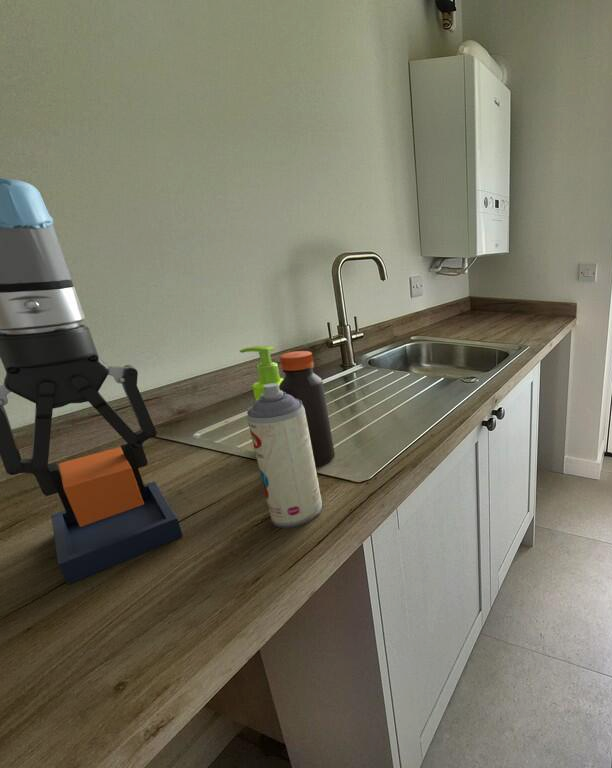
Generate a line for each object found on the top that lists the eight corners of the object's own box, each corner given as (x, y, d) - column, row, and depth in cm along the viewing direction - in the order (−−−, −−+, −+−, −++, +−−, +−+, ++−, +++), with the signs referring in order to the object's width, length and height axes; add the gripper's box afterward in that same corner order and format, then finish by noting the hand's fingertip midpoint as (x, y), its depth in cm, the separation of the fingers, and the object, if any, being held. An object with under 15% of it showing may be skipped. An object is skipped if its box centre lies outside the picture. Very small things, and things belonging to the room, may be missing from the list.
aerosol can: (273, 505, 62) (244, 381, 55) (322, 494, 65) (300, 374, 58) (269, 533, 56) (236, 397, 50) (323, 519, 59) (298, 389, 52)
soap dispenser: (272, 438, 83) (251, 343, 77) (305, 438, 83) (287, 343, 77) (254, 452, 78) (230, 350, 71) (290, 452, 78) (269, 351, 71)
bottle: (291, 457, 76) (270, 353, 70) (330, 447, 80) (313, 347, 73) (298, 472, 71) (276, 362, 64) (339, 461, 75) (321, 355, 68)
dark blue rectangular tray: (59, 533, 56) (51, 514, 55) (160, 497, 64) (154, 480, 63) (67, 585, 48) (58, 564, 47) (183, 536, 56) (177, 518, 55)
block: (73, 499, 55) (58, 463, 53) (132, 480, 59) (119, 446, 57) (80, 527, 49) (63, 488, 47) (144, 504, 54) (131, 467, 52)
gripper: (-110, 348, 38) (-5, 552, 45) (154, 319, 51) (201, 480, 59) (-96, 337, 42) (-3, 523, 50) (142, 313, 56) (187, 463, 63)
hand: (107, 499), depth 54 cm, fingers closed on block, 6 cm apart
